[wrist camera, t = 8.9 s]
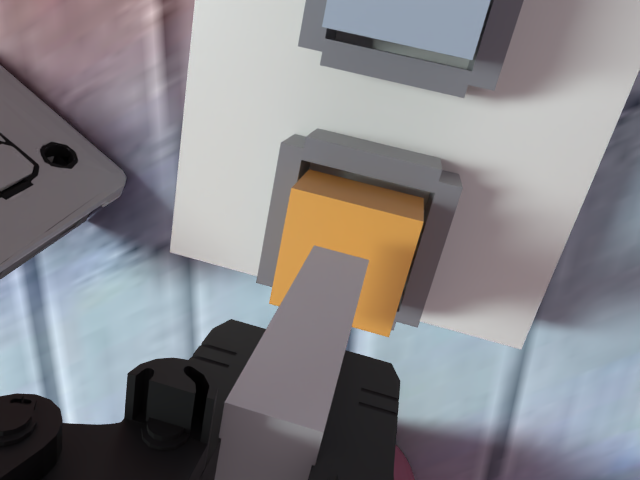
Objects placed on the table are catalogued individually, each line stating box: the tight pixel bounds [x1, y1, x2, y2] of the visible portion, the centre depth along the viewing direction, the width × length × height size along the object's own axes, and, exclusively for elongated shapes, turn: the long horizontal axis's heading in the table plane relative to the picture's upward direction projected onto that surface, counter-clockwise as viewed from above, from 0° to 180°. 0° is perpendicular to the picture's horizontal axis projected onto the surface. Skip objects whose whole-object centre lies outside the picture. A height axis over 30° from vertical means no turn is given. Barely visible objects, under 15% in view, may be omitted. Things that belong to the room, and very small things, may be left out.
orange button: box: [269, 169, 424, 337], centre depth 17 cm, size 4×4×3 cm
